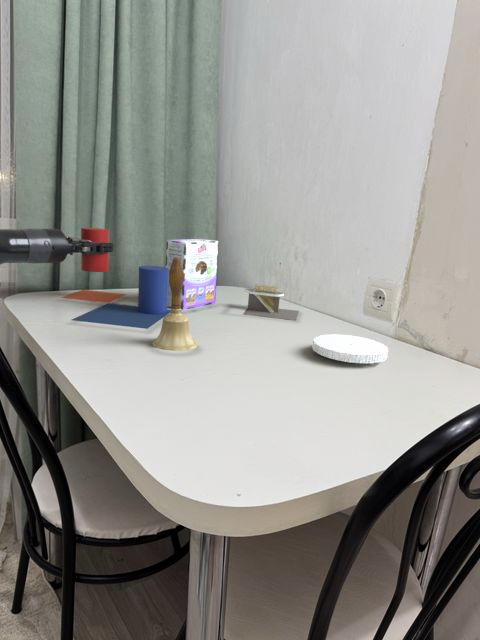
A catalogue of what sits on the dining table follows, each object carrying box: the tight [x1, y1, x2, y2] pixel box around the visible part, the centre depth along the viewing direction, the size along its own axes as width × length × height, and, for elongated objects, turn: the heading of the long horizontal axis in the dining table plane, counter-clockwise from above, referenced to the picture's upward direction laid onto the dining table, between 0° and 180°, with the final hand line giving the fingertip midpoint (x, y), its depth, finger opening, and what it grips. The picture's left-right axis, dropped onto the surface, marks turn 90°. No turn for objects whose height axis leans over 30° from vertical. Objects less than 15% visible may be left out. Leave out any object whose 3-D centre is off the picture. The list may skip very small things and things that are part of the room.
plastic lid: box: [311, 333, 389, 364], centre depth 95 cm, size 14×14×2 cm
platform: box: [242, 283, 300, 321], centre depth 128 cm, size 12×18×7 cm, turn 82°
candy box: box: [165, 238, 219, 311], centre depth 125 cm, size 14×6×16 cm, turn 149°
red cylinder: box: [80, 227, 110, 273], centre depth 124 cm, size 6×6×10 cm
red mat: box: [60, 289, 128, 304], centre depth 127 cm, size 12×12×1 cm
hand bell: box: [151, 258, 199, 352], centre depth 90 cm, size 8×8×16 cm
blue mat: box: [71, 302, 171, 330], centre depth 111 cm, size 16×19×1 cm
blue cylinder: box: [137, 265, 168, 314], centre depth 115 cm, size 6×6×10 cm
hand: (102, 245), depth 125 cm, fingers closed on red cylinder, 6 cm apart
